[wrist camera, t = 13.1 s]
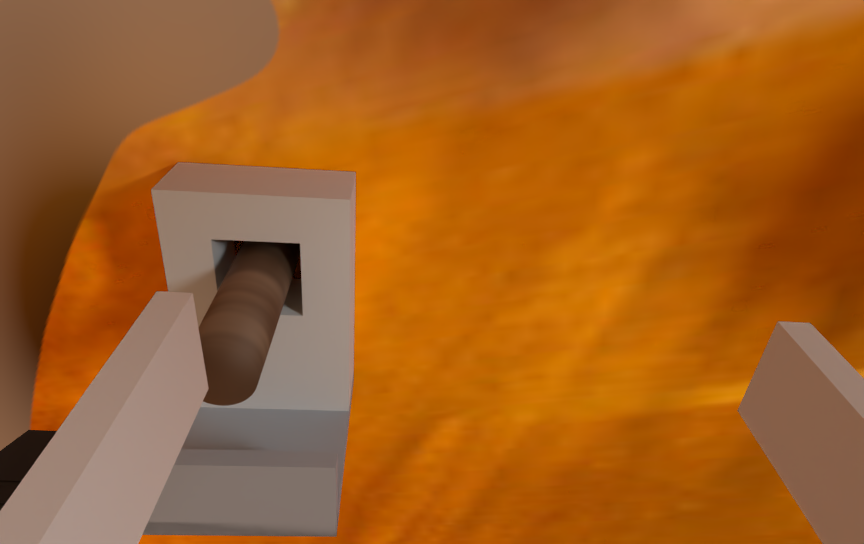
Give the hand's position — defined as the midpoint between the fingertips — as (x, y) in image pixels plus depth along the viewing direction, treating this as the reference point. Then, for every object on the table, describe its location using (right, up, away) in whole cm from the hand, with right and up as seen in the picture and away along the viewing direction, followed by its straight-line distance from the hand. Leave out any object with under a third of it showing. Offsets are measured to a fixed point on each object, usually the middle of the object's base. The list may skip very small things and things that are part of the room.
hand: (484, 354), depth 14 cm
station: (-13, +1, +31) cm, 34 cm away
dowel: (-13, +4, +30) cm, 33 cm away
